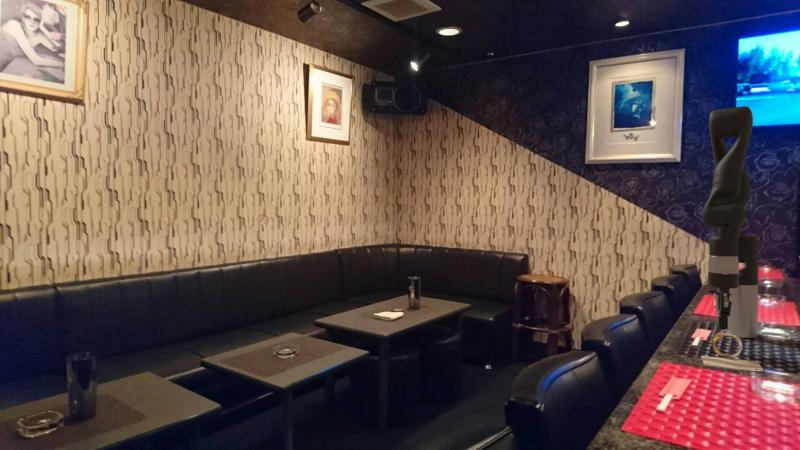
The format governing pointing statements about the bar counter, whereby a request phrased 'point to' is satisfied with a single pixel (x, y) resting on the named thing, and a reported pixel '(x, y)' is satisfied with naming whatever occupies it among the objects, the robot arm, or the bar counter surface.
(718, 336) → the ring
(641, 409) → the bar counter surface
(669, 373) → the bar counter surface
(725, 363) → the birch board
